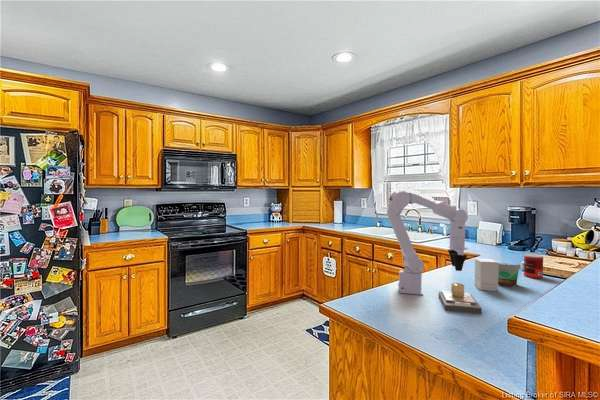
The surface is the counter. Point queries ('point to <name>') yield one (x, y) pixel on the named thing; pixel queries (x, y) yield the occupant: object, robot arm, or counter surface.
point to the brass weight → (457, 290)
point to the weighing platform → (450, 298)
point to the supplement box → (486, 274)
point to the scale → (460, 305)
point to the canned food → (533, 266)
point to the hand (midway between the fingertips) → (456, 268)
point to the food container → (508, 274)
